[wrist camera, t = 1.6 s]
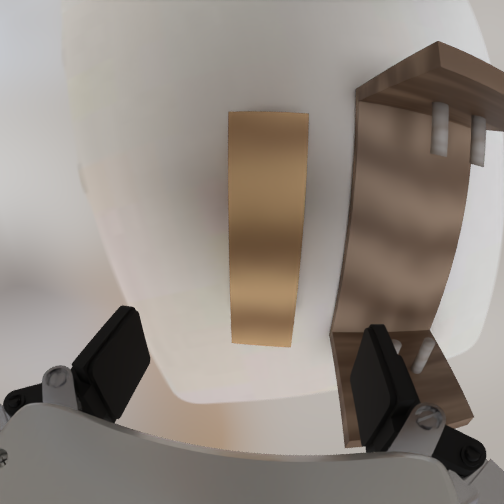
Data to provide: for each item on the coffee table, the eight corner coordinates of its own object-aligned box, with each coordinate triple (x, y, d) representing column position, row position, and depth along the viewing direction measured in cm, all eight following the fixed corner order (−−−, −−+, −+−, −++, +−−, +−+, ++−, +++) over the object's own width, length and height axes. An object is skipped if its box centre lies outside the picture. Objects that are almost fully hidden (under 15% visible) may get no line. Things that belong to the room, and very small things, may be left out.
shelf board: (242, 118, 21) (228, 111, 16) (302, 120, 21) (308, 113, 15) (241, 304, 28) (231, 342, 23) (290, 307, 28) (290, 347, 23)
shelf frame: (355, 89, 19) (437, 41, 6) (467, 117, 18) (575, 125, 5) (329, 334, 29) (344, 448, 16) (423, 332, 27) (467, 424, 15)
